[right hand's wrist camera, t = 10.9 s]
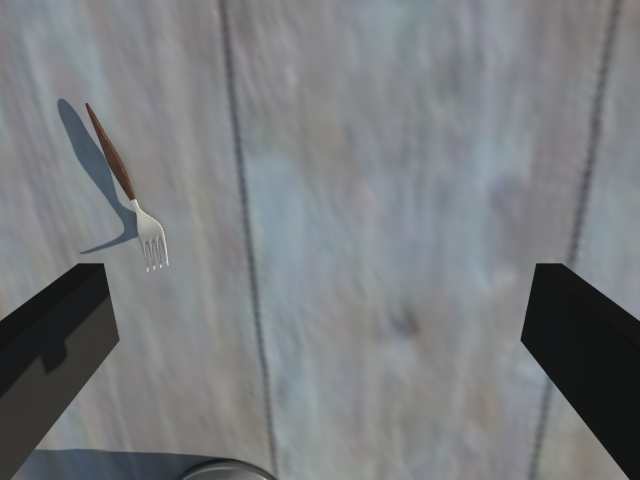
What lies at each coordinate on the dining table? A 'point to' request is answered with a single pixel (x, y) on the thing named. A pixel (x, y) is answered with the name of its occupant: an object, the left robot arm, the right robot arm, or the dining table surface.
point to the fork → (131, 196)
